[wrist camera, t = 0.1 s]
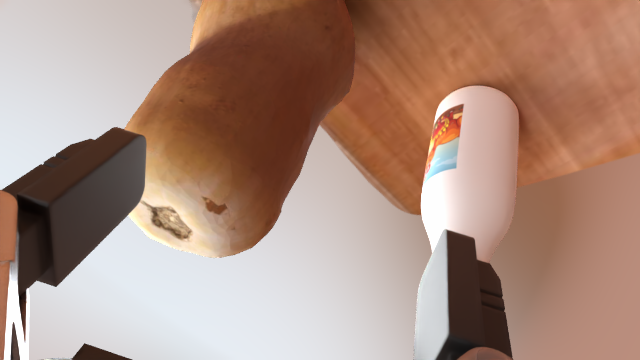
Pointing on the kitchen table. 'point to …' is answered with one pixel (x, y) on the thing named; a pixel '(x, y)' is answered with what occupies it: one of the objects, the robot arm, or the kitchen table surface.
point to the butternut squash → (239, 120)
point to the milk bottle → (472, 168)
